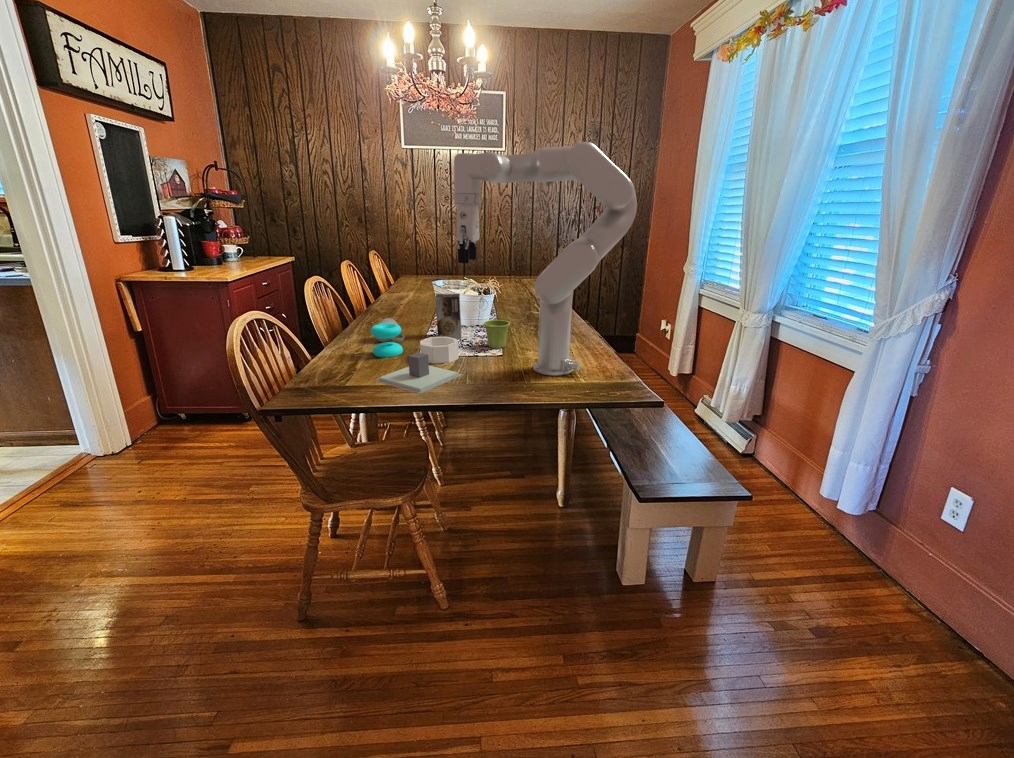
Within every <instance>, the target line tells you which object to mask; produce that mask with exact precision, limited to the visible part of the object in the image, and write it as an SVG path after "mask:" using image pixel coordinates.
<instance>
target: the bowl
mask: <svg viewBox="0 0 1014 758" xmlns="http://www.w3.org/2000/svg"><path fill="white" fill-rule="evenodd" d="M419 341H420V343H419V344H420V353H423V354H427V355H428V361H429V364H447V363H448V364H449V363H452V362H455V361H457V360H459V359H460V358H459V341H458V338H450V337H438V336H429V337H427V338H424V339H421V340H419Z"/></svg>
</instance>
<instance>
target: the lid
mask: <svg viewBox="0 0 1014 758" xmlns="http://www.w3.org/2000/svg"><path fill="white" fill-rule="evenodd" d="M407 359H408V366H406V367H404V368H401V369H398V370H396V371H393V372H390V373H387V374H385V375H382V376H380V377H379V378H380V380H382V381H385V382H389V383H392V384H396V385H400V386H403V387H407V388H410V389H414V390H417V391H423V390H425V389H428V388H430V387H432V386H434V385H437V384H439V383H441V382H443V381H446V380H448V379H450V378H453V377H455V376H457V375H458V374H459V372H458V371H454V370H449V369H446V368H445V369H444V368H441V367H436V366H432V365H429V364H430V363H429V361H428V355H427V354H423V353H421V352H415V353H413V354H409V355H408V358H407Z"/></svg>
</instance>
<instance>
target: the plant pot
mask: <svg viewBox="0 0 1014 758" xmlns="http://www.w3.org/2000/svg"><path fill="white" fill-rule="evenodd" d="M510 324H511V323H510V321H508V320H505V319H504V320H503V319H491V320H487V321H484V322H483V325H484V329H485V333H486V340H487V346H488V347H489V348H491V349H500V348H505V347H506V343H507V337H508V331H509V330H508V329H509V327H510Z"/></svg>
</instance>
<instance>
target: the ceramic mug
mask: <svg viewBox="0 0 1014 758" xmlns="http://www.w3.org/2000/svg"><path fill="white" fill-rule="evenodd" d="M384 323H392V324H397V325H399V324H398V322H397V321H396V320H395V319H393V318H390V317H387V318H384V319H382V320H381V321H379V322H378V323H377V324H376V325H378V324H384ZM373 337H374V339H376V340H377V342H380V343H385V342H389V341H391V340H392V342H395V343H397V342H398V343H401V342H402V343H403V341H404V340H405V335H404V334H403V333H402V332H401V333H400V334H399V335H398V337H397V336H396V337H393V338H377V337H375V336H373Z"/></svg>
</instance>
